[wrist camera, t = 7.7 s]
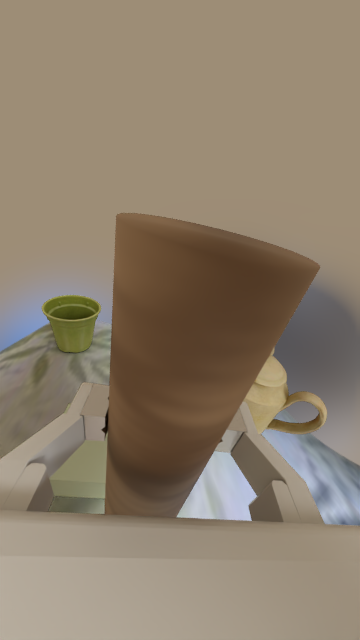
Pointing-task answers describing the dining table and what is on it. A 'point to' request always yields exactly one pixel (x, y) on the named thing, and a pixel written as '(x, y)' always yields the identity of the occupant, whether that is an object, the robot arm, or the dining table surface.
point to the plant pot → (72, 321)
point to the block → (82, 471)
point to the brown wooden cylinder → (186, 349)
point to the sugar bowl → (279, 401)
